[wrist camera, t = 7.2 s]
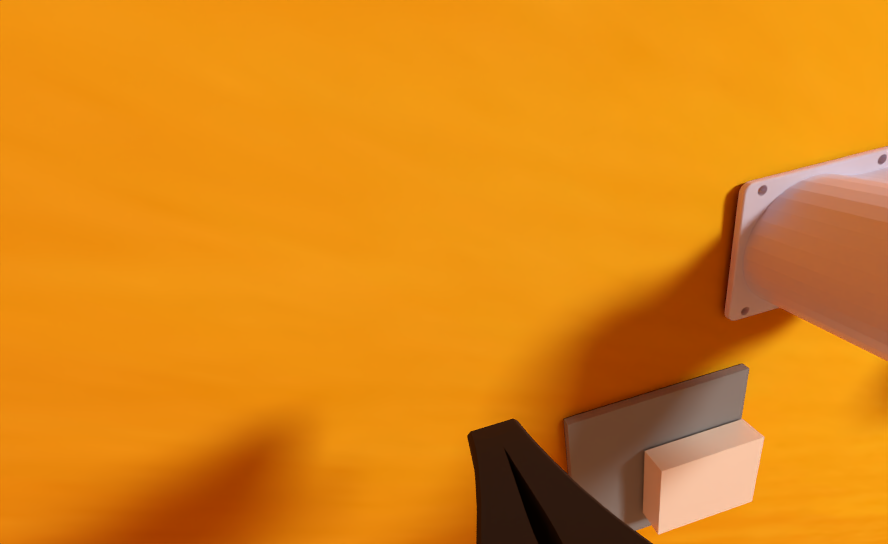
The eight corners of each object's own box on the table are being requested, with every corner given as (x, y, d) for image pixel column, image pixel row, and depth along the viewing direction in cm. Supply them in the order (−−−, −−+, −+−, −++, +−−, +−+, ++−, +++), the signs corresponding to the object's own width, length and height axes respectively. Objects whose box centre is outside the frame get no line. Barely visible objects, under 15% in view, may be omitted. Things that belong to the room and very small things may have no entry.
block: (642, 449, 27) (740, 417, 27) (641, 510, 29) (730, 479, 30) (661, 471, 25) (764, 436, 26) (658, 534, 28) (751, 501, 28)
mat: (742, 363, 26) (749, 368, 26) (723, 492, 31) (728, 498, 31) (563, 418, 25) (567, 424, 24) (573, 544, 30) (577, 550, 29)
